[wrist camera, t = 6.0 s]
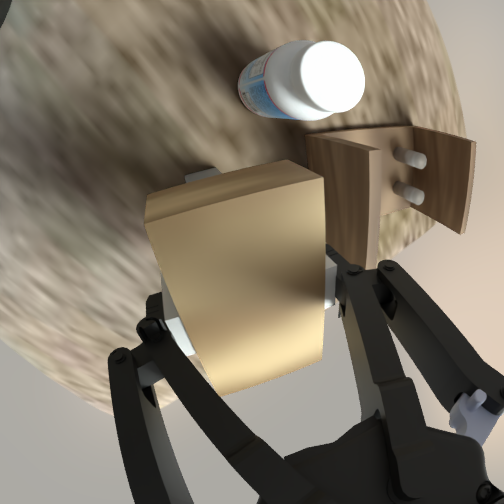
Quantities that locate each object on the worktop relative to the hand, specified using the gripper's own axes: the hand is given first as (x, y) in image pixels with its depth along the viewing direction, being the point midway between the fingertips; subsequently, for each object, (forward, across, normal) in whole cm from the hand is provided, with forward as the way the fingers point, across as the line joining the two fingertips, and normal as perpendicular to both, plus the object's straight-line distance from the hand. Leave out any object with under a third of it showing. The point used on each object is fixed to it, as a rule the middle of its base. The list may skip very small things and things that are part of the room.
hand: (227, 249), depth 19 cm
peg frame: (+9, +19, -1) cm, 21 cm away
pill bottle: (+10, +8, +10) cm, 16 cm away
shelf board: (-3, 0, 0) cm, 3 cm away
